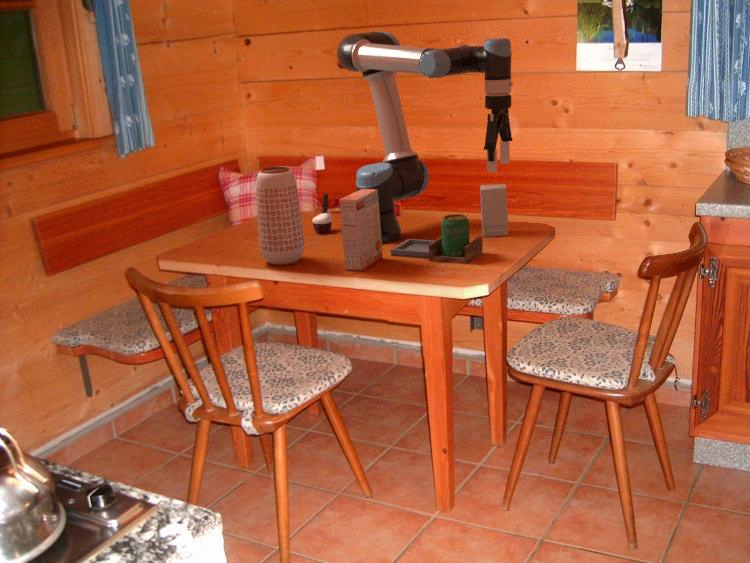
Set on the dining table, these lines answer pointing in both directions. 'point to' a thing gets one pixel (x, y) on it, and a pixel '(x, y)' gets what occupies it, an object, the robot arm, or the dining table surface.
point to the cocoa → (323, 218)
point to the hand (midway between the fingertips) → (498, 167)
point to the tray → (412, 248)
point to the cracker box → (361, 229)
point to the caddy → (470, 254)
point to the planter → (279, 216)
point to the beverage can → (455, 235)
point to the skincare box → (494, 210)
